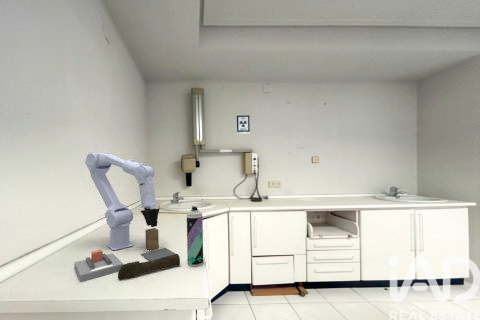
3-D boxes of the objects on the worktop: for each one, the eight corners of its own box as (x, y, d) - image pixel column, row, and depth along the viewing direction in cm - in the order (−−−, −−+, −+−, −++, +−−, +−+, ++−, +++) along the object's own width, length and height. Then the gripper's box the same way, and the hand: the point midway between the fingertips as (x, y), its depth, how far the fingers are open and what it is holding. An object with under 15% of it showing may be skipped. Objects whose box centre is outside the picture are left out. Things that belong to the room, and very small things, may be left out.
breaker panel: (74, 268, 81) (74, 258, 81) (112, 258, 89) (112, 250, 89) (80, 282, 70) (80, 271, 70) (123, 269, 78) (123, 260, 78)
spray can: (186, 262, 83) (185, 206, 84) (201, 259, 85) (200, 204, 86) (188, 268, 78) (187, 208, 79) (204, 265, 80) (203, 206, 81)
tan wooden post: (145, 248, 99) (145, 229, 99) (155, 246, 101) (154, 227, 102) (149, 251, 96) (148, 231, 96) (158, 248, 98) (158, 229, 99)
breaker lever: (91, 260, 81) (91, 251, 81) (101, 258, 83) (101, 249, 83) (92, 262, 79) (92, 253, 80) (102, 260, 81) (102, 251, 82)
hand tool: (177, 263, 83) (177, 250, 83) (180, 267, 80) (180, 253, 80) (117, 277, 73) (117, 262, 73) (118, 282, 70) (118, 267, 70)
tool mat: (140, 254, 92) (140, 253, 92) (165, 248, 98) (165, 247, 98) (150, 262, 84) (150, 261, 84) (176, 254, 91) (176, 253, 91)
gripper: (161, 191, 95) (166, 224, 94) (153, 192, 107) (157, 222, 106) (143, 194, 91) (148, 229, 90) (136, 195, 103) (141, 226, 102)
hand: (152, 225), depth 98 cm, fingers open, 7 cm apart
